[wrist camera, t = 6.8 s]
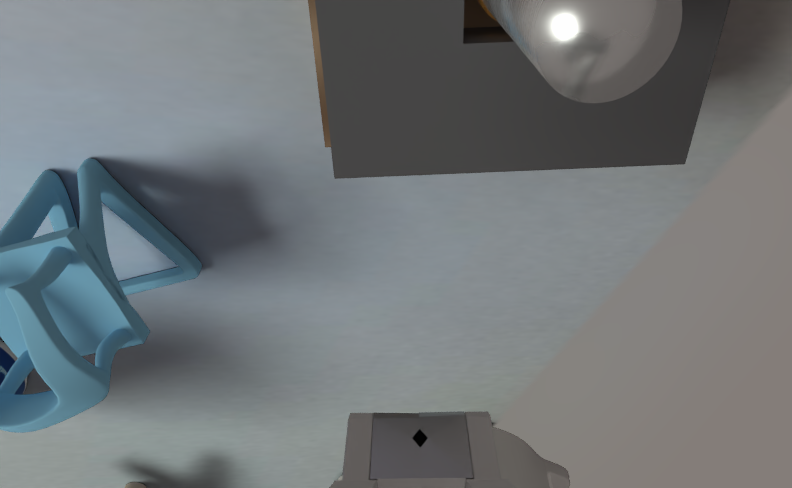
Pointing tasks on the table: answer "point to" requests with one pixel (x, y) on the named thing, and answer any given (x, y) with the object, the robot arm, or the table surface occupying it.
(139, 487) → the pipe connector
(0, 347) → the beverage bottle
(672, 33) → the post
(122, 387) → the table surface
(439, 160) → the collar
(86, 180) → the chair
